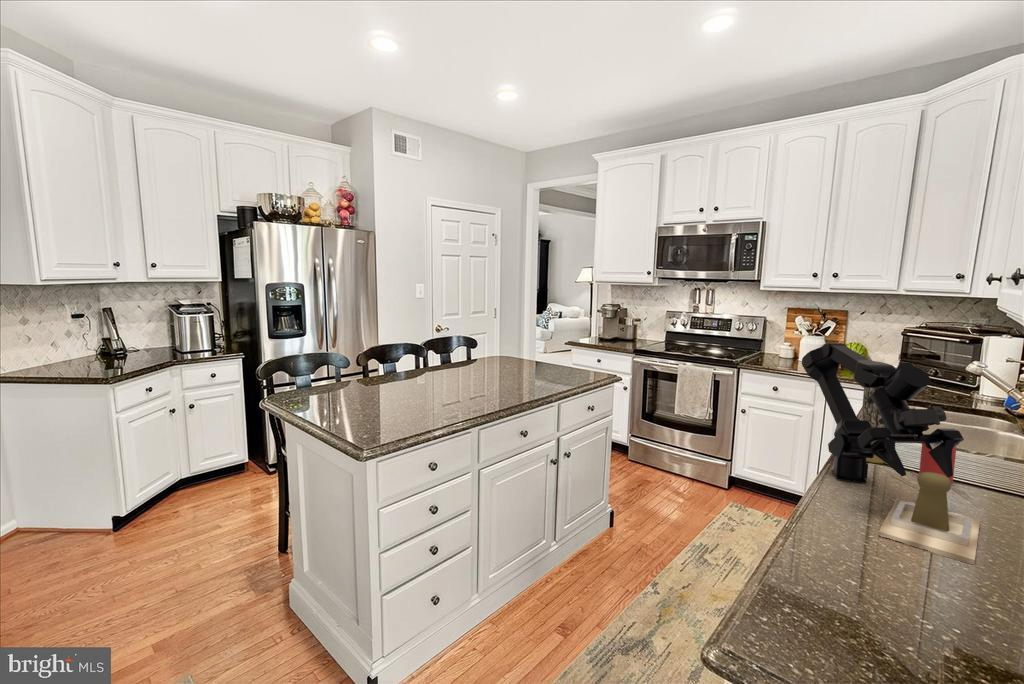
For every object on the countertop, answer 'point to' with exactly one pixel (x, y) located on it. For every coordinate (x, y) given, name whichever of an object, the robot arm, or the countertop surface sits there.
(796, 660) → the countertop surface
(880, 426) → the brown tall cylinder
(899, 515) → the clear rectangular frame
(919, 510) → the cork
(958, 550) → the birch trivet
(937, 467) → the beer can
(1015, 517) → the countertop surface
